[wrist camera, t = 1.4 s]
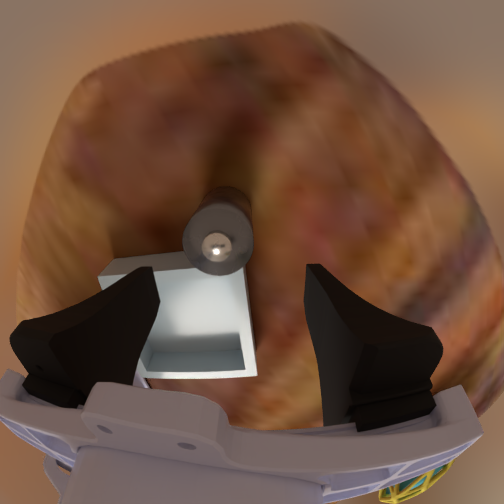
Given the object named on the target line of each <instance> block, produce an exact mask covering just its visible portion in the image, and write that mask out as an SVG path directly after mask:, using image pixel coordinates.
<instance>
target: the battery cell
mask: <svg viewBox="0 0 504 504" xmlns="http://www.w3.org/2000/svg"><path fill="white" fill-rule="evenodd" d="M182 244H183V250H184V253H185V255H186V257H187V259H188V260H189V262H190V263H191V264H192V265H193V266H194V267H195V268H197V269H198V270H200V271H202V272H204V273H206V274H209V275H214V276H224V275H229V274H232V273H235V272H237V271H238V270H240V269H241V268H242V267H244V266H245V265H246V263H247V262H248V261H249V259H250V257H251V255H252V252H253V246H254V240H253V227H252V213H251V205H250V202H249V200H248V198H247V197H246V195H245V194H244V193H243V192H241V191H240V190H238V189H236V188H233V187H228V186H224V187H218V188H216V189H214V190H212V191H210V192H209V193H208V194H207V195H206V197H205V198H204V200H203V201H202V203H201V204H200V206H199V207H198V209H197V210H196V212H195V213H194V215H193V216H192V218H191V219H190V221H189V223H188V224H187V226H186V228H185V230H184V233H183V238H182Z"/></svg>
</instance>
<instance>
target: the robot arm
mask: <svg viewBox="0 0 504 504" xmlns="http://www.w3.org/2000/svg"><path fill="white" fill-rule="evenodd" d="M160 302H161V301H160V297H159V293H158V289H157V285H156V281H155V276H154V272H153V268H152V266H141V267H139V268H137V269H135V270H133V271H132V272H130V273H129V274H127V275H125V276H124V277H122V278H121V279H119V280H118V281H116V282H115V283H113V284H112V285H110V286H109V287H107V288H105V289H104V290H102V291H100V292H99V293H97V294H96V295H94V296H92V297H90V298H88V299H86V300H84V301H82V302H80V303H78V304H76V305H74V306H71V307H69V308H66V309H64V310H62V311H59V312H56V313H53V314H49V315H46V316H42V317H38V318H33V319H29V320H23V321H22V322H21V323H20V324H19V325H18V326H17V327H16V329H15V330H14V331H13V333H12V334H11V335H10V344H11V347H12V349H13V351H14V353H15V354H16V356H17V357H18V359H19V360H20V362H21V363H22V365H23V366H24V368H25V369H26V370H27V372H28V373H29V374H28V376H27V377H26V378H25V377H24V376H23V375H21V374H20V373H17V372H15V371H13V370H11V369H7V371H6V372H5V374H4V375H3V377H2V378H1V380H0V420H1V422H2V423H4V424H5V425H6V426H7V427H8V428H9V429H10V430H11V431H12V432H13V433H14V434H15V435H16V436H18V437H19V438H21V439H23V440H24V441H26V442H28V443H29V444H31V445H32V446H34V447H36V448H38V449H39V450H41V451H43V452H45V453H46V456H45V459H44V462H43V466H44V472H45V474H46V475H47V477H48V478H49V480H50V481H51V483H52V484H53V486H54V487H55V489H56V490H57V491H58V493H59V495H60V497H59V500H58V504H325V503H330V502H335V501H340V500H344V499H348V498H352V497H356V496H360V495H364V494H367V493H370V492H374V491H377V490H380V489H384V488H387V487H390V486H392V485H395V484H398V483H401V482H404V481H406V480H409V479H411V478H414V477H416V476H419V475H421V474H424V473H426V472H429V471H431V470H433V469H436V468H438V467H440V466H442V465H445V464H447V463H449V462H451V461H452V460H453V459H455V458H456V457H457V456H458V455H460V454H461V453H462V452H463V451H465V450H466V449H467V448H468V447H469V446H471V445H472V444H473V443H474V442H475V441H476V440H477V439H479V438H480V437H481V436H482V435H483V433H484V431H483V429H482V427H481V424H480V422H479V420H478V418H477V415H476V413H475V411H474V409H473V407H472V405H471V403H470V401H469V399H468V397H467V395H466V393H465V391H464V389H463V387H462V385H457V386H454V387H452V388H449V389H446V390H443V391H440V392H438V393H437V394H435V395H434V396H432V394H431V391H430V389H432V387H433V384H432V382H431V380H430V377H431V375H432V374H433V372H434V370H435V369H436V367H437V365H438V364H439V362H440V359H441V357H442V355H443V346H442V343H441V341H440V340H439V338H438V336H437V335H436V333H435V332H434V330H433V329H432V327H428V326H425V325H421V324H417V323H413V322H410V321H407V320H405V319H402V318H399V317H397V316H394V315H392V314H389V313H387V312H385V311H383V310H381V309H379V308H377V307H375V306H374V305H372V304H370V303H369V302H367V301H365V300H364V299H362V298H361V297H359V296H358V295H356V294H355V293H354V292H352V291H351V290H350V289H348V288H347V287H346V286H345V285H343V284H342V283H341V282H340V281H339V280H337V279H336V278H335V277H334V276H333V275H332V274H331V273H330V272H329V271H327V270H326V269H325V268H324V267H323V266H322V265H321V264H307V265H306V279H305V291H304V307H305V315H306V320H307V324H308V328H309V332H310V335H311V339H312V343H313V346H314V350H315V354H316V358H317V363H318V370H319V378H320V387H321V397H322V409H323V425H324V427H316V428H305V429H291V430H255V429H249V428H242V427H236V426H231V425H229V422H228V417H227V414H226V413H225V412H224V410H223V409H222V408H221V407H220V405H218V404H217V403H215V402H213V401H211V400H209V399H207V398H205V397H203V396H199V395H194V394H189V393H185V392H175V391H166V390H158V389H150V387H149V385H148V384H147V382H146V380H145V378H142V377H141V376H140V374H139V372H138V370H137V365H138V361H139V358H140V355H141V352H142V350H143V348H144V345H145V343H146V341H147V338H148V336H149V334H150V331H151V329H152V327H153V324H154V322H155V320H156V317H157V313H158V310H159V306H160ZM57 465H59V466H60V467H62V468H64V469H66V470H68V471H69V472H71V474H70V476H69V475H67V474H65V473H64V472H62V471H61V470H60V469H59V468H58V466H57Z"/></svg>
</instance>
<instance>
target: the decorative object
mask: <svg viewBox="0 0 504 504" xmlns="http://www.w3.org/2000/svg"><path fill="white" fill-rule="evenodd" d="M455 459H456V458H455ZM455 459H453V460H452V461H451V462H449V463H447V464H445V465H442V466H440V467H438V468H436V469H433V470H431V471H429V472H426V473H424V474H421V475H419V476H416V477H414V478H411V479H409V480H406V481H404V482H401V483H398V484H395V485H392V486H390V487H387V488H384V490H383V489H380V490H379V500H380V501H382V502H386V503H399V502H402V501H404V500H407V499H409V498H412V497H414V496H416V495H418V494H420V493H422V492H424V491H425V490H427V489H428V488H429V487H430V486H432V485H433V484H434V483H435V482H436V481H437V480H438V479H439V478H440V477H441V476H442V475H444V474H445V473H446V472H447V470H448V469H449V468H450V467H451V465H452V464H453V462H454V461H455ZM441 468H443V470H441V471H440V472H439V473H438V474H436V473H437V472H438V471H439V470H440V469H441ZM435 474H436V475H435ZM390 495H391V497H388V496H390Z"/></svg>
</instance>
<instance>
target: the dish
mask: <svg viewBox="0 0 504 504" xmlns="http://www.w3.org/2000/svg"><path fill="white" fill-rule="evenodd" d="M141 266H152V268H153V272H154V276H155V281H156V285H157V289H158V293H159V297H160V301H161V302H160V306H159V310H158V313H157V317H156V320H155V322H154V324H153V327H152V329H151V331H150V334H149V336H148V338H147V341H146V343H145V345H144V348H143V350H142V352H141V355H140V358H139V361H138V365H137V370H138V372H139V374H140V376H141V377H142V378H168V379H205V378H231V377H247V376H257V359H256V346H255V339H254V331H253V323H252V315H251V308H250V300H249V292H248V284H247V276H246V268H245V266H244V267H242V268H241V269H240V270H238V271H237V272H235V273H232V274H229V275H224V276H214V275H209V274H206V273H204V272H202V271H200V270H198V269H197V268H195V267H194V266H193V265H192V264H191V263H190V262H189V260H188V259H187V257H186V255H185V253H184V251H180V252H171V253H162V254H152V255H143V256H134V257H125V258H116V259H113V260H112V261H111V262H110V263H109V264H108V265H107V267H106V268H105V269H104V270H103V271H102V272H101V273H100V274H99V275H98V276H97V277H98V280H99V283H100V286H101V288H102V290H104V289H105V288H107V287H109V286H110V285H112V284H113V283H115V282H116V281H118V280H119V279H121V278H122V277H124V276H125V275H127V274H129V273H130V272H132V271H133V270H135V269H137V268H139V267H141Z"/></svg>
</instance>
